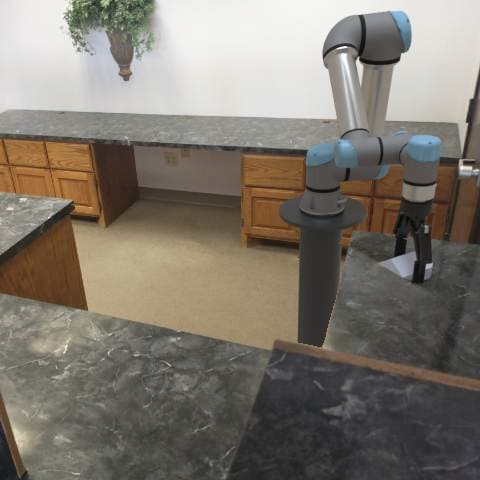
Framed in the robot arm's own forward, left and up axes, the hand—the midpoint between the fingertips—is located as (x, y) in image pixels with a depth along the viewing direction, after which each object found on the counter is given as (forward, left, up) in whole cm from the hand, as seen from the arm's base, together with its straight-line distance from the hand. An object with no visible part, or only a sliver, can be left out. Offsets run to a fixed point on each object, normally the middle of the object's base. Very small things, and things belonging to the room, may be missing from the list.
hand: (407, 271), depth 139 cm
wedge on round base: (0, 0, -1) cm, 1 cm away
